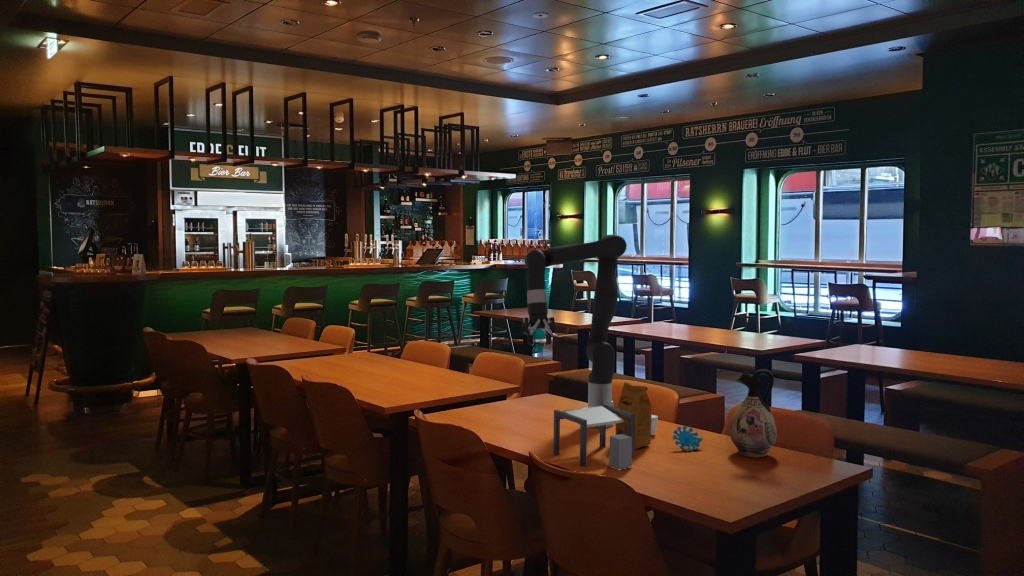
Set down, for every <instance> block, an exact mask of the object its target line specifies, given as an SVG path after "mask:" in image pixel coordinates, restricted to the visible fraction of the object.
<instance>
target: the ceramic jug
mask: <svg viewBox="0 0 1024 576" xmlns="http://www.w3.org/2000/svg"><path fill="white" fill-rule="evenodd" d="M759 376H765V377H767V378H768V384H767V387H766V390H765V392H764V393H763V396H762V395H761V393H760V390H759V389H762V388H764V387H765V385H764V383H763V381H761V379H759ZM735 381H736V382H737V383H739V384H742V385H744V386H745V387H747V389H748V392H747V395H746V396H745V398H744V399H743V400H742V402H741V403H740V404H739V406H738V407H737V409H736V410H735V412H734V414H733V416H732V419H731V421H730V425H729V437H730V439H731V441H732V443H733V445H734V446H735V447H736V449H737V453H738V454H739V455H740V454H741V455H740V456H743V455H744V457H747V456H748V457H749V458H763V457H766V456H768V452H769V450H770V449H771V448H772V447H773V446H774V445H775V444H776V440H777V436H778V435H777V433H778V432H777V431H778V430H777V425H776V421H775V418H774V416H773V414H772V413H771V408H770V404H769V398H770V395H771V392H772V390H773V388H774V384H775V376H774V374H773V373H772V371H771V370H769V369H767V368H761V369H757V370H755V372H754V373H753V374H752V375H751V374H750V372H748V370H747V371H746V370H745V372H743V373H742V374H740V375H739V376H738V377H737V378H736V380H735Z"/></svg>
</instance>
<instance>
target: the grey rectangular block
mask: <svg viewBox="0 0 1024 576" xmlns="http://www.w3.org/2000/svg"><path fill="white" fill-rule="evenodd" d="M632 459H633V458H632V437H629V436H626V435H623V434H620V435H616V434H614V435H610V436H609V461H608V462H609V466H611V467H610V468H612V467H614V468H616V469H624V468H629V467H631V468H632V461H633V460H632ZM614 468H613V469H614ZM616 469H615V470H616Z"/></svg>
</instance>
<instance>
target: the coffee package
mask: <svg viewBox="0 0 1024 576" xmlns="http://www.w3.org/2000/svg"><path fill="white" fill-rule="evenodd" d="M622 385H623V386H622V388H621V392H620V396H619V399H618V403H617V405H616V406H617V407H616V408H617V409H621V410H624V411H627V412H630V413H634V414H635V415H634V450H638V449H639V448H642V447H647V446H650V445H651V444H652V441H651V438H652V436H651V414H652V411H653V407H652V406H653V405H652V403H651V400H650V398H649V396H648V392H647V391H648V386H645V385H632V384H630V383H629V382H628V381H625V382H624V383H623V384H622ZM615 415H617V416H619V417H620V418H622V419H623V422H622V423H615V424H614V425H615V435H620V434H623V435H626V436H628V418H627V417H624V416H621V415H618V414H615Z"/></svg>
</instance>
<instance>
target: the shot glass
mask: <svg viewBox="0 0 1024 576" xmlns="http://www.w3.org/2000/svg"><path fill="white" fill-rule="evenodd" d="M658 419H659V415H656V414H652V413H651V435H655V434H656V435H657V429H658ZM656 435H655V436H656Z"/></svg>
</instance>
